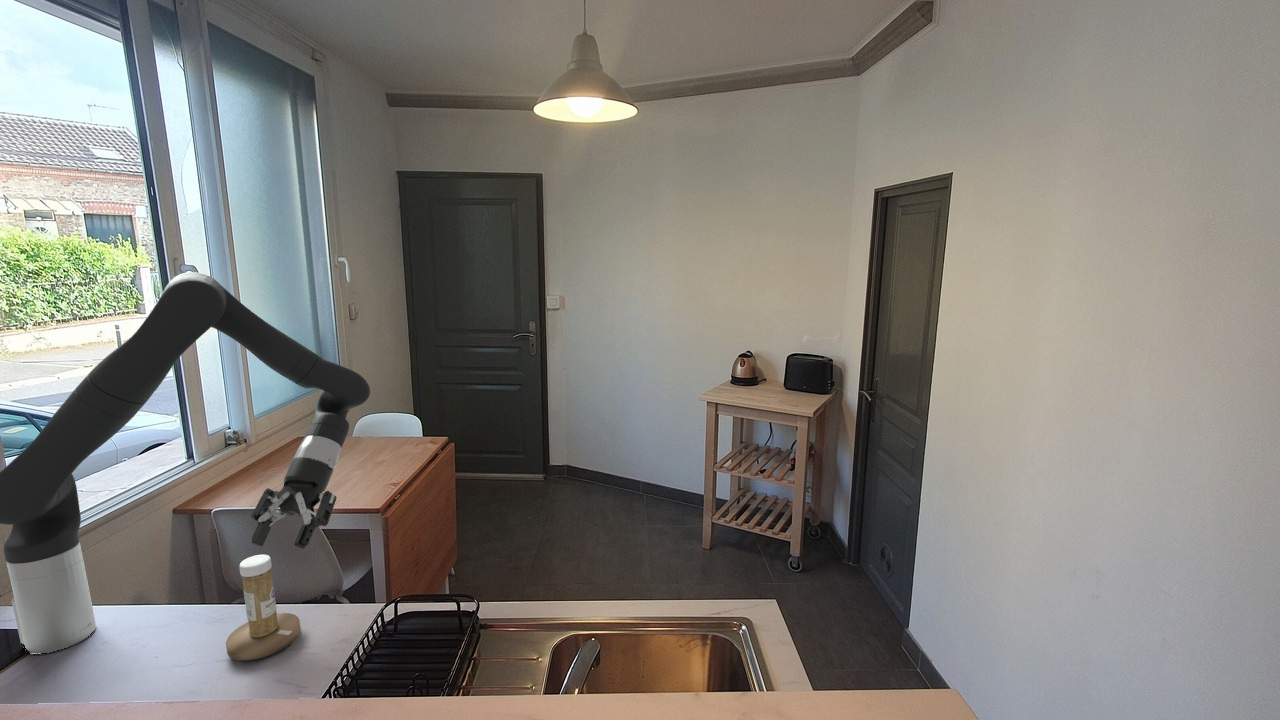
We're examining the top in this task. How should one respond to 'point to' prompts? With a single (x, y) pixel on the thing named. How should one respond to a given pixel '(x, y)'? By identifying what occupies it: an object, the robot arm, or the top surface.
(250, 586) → the sprinkles bottle
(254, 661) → the turntable base
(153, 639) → the top surface
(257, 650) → the disc
